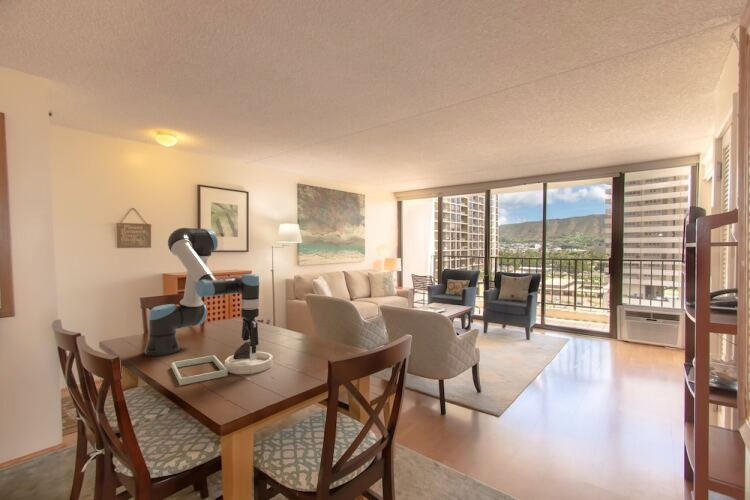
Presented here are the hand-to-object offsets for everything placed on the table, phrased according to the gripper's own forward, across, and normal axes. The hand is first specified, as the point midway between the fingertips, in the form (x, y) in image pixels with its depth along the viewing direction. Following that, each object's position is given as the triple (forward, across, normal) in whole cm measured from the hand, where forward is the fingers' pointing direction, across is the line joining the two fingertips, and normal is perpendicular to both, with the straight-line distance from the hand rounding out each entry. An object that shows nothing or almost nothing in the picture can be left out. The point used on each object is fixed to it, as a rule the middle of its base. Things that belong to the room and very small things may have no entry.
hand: (249, 357), depth 157 cm
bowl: (+4, 0, 0) cm, 4 cm away
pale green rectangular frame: (+4, -5, -20) cm, 21 cm away
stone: (+1, -1, -2) cm, 2 cm away
